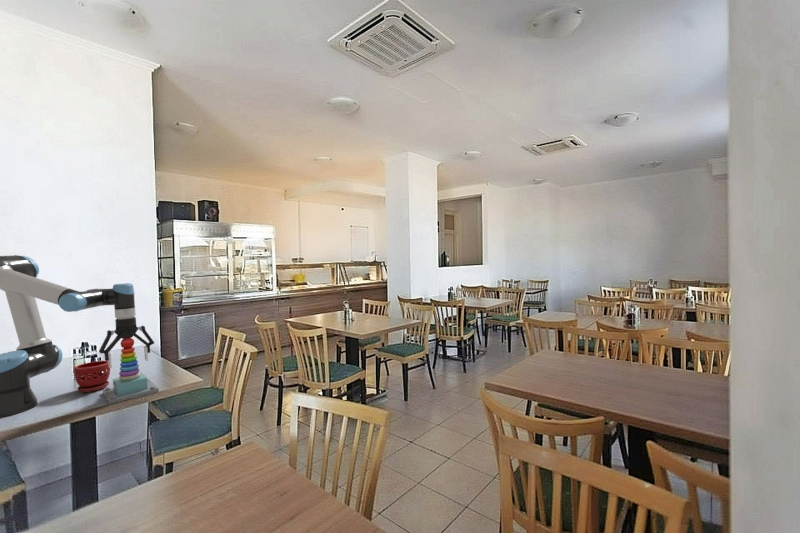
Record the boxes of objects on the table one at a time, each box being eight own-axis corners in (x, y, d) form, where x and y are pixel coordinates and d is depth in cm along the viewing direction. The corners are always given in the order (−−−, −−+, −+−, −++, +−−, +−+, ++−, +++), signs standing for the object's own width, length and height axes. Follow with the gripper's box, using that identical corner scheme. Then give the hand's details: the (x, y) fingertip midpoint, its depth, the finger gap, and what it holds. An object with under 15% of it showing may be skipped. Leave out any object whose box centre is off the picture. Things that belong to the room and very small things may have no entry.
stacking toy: (144, 375, 174) (142, 335, 173) (131, 381, 166) (128, 339, 165) (129, 375, 175) (126, 335, 174) (114, 381, 167) (111, 339, 166)
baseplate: (109, 403, 158) (108, 388, 158) (103, 393, 171) (102, 379, 170) (158, 391, 171) (157, 377, 170) (149, 382, 183) (148, 369, 183)
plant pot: (114, 387, 178) (113, 362, 177) (79, 396, 168) (77, 370, 167) (107, 381, 186) (106, 358, 186) (73, 389, 176) (71, 364, 175)
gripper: (91, 323, 157) (94, 372, 158) (159, 314, 175) (162, 358, 176) (88, 321, 163) (92, 368, 164) (155, 312, 180) (158, 355, 181)
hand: (128, 363), depth 170 cm, fingers open, 13 cm apart
